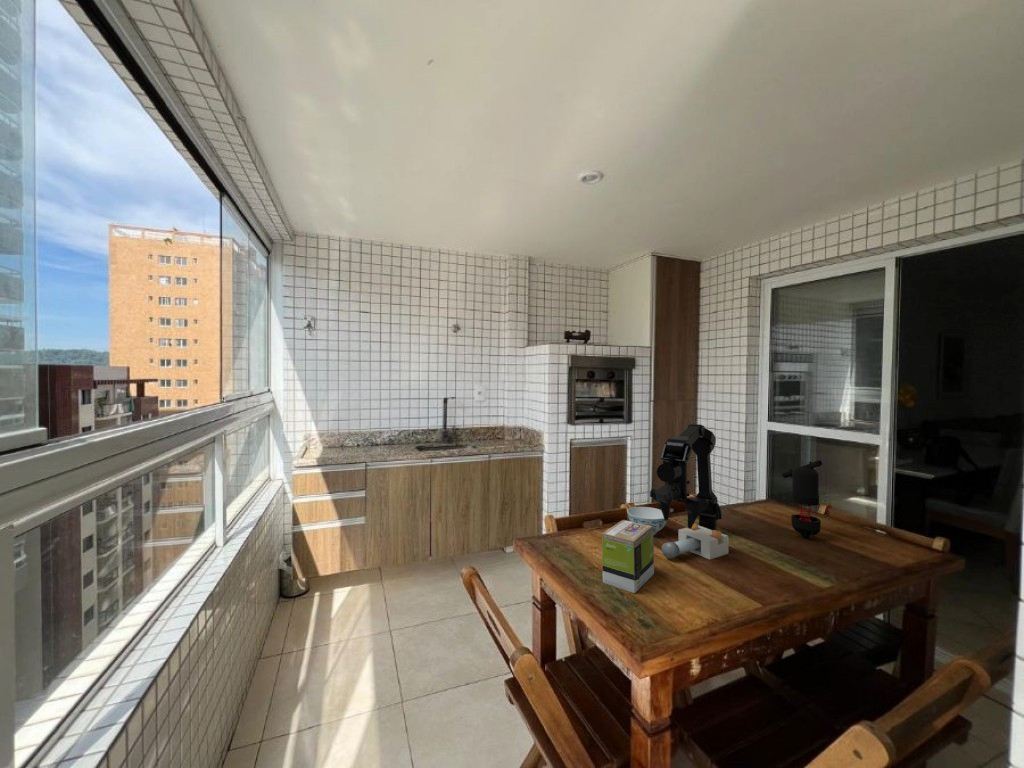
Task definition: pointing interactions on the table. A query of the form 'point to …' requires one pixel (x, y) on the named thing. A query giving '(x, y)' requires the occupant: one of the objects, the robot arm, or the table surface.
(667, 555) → the cartridge
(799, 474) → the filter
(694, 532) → the housing
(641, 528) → the tea box
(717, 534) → the plunger
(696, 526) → the plunger
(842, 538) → the table surface
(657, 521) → the chinaware
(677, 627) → the table surface
